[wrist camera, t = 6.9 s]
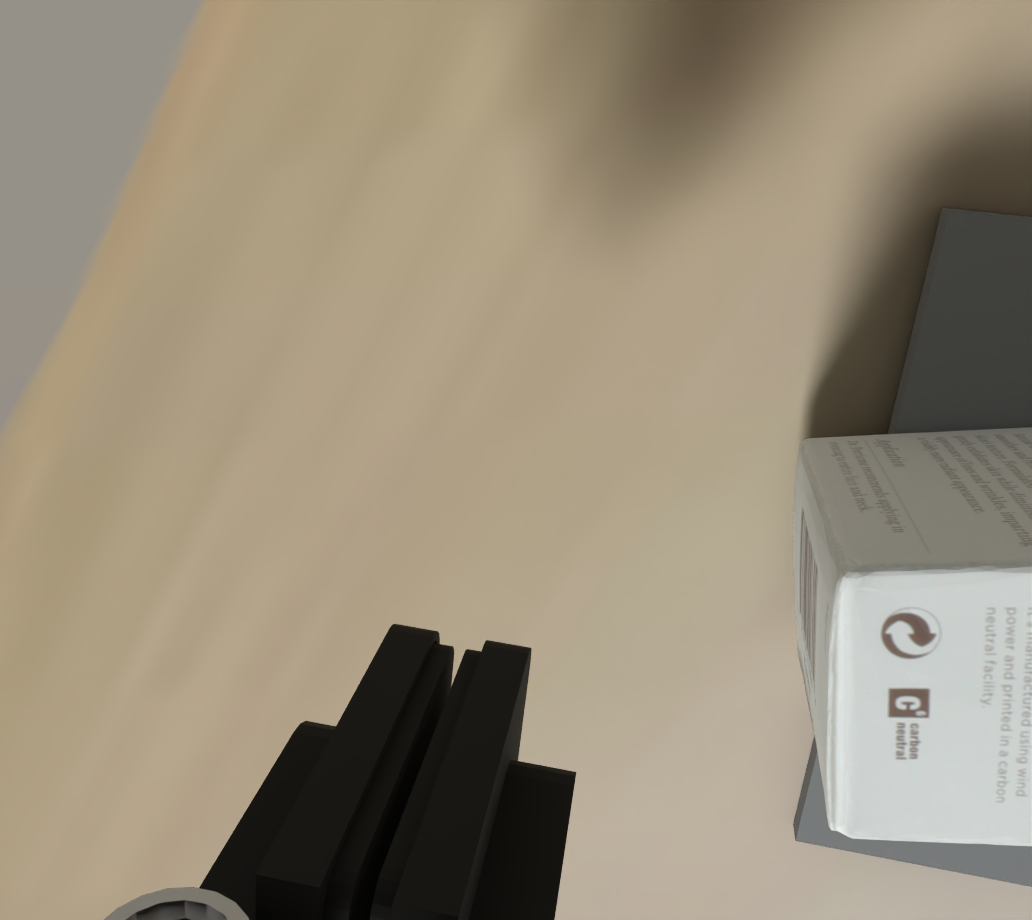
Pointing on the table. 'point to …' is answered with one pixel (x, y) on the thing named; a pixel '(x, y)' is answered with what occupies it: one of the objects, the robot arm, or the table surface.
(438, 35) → the table surface
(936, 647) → the skincare box
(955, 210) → the mat
